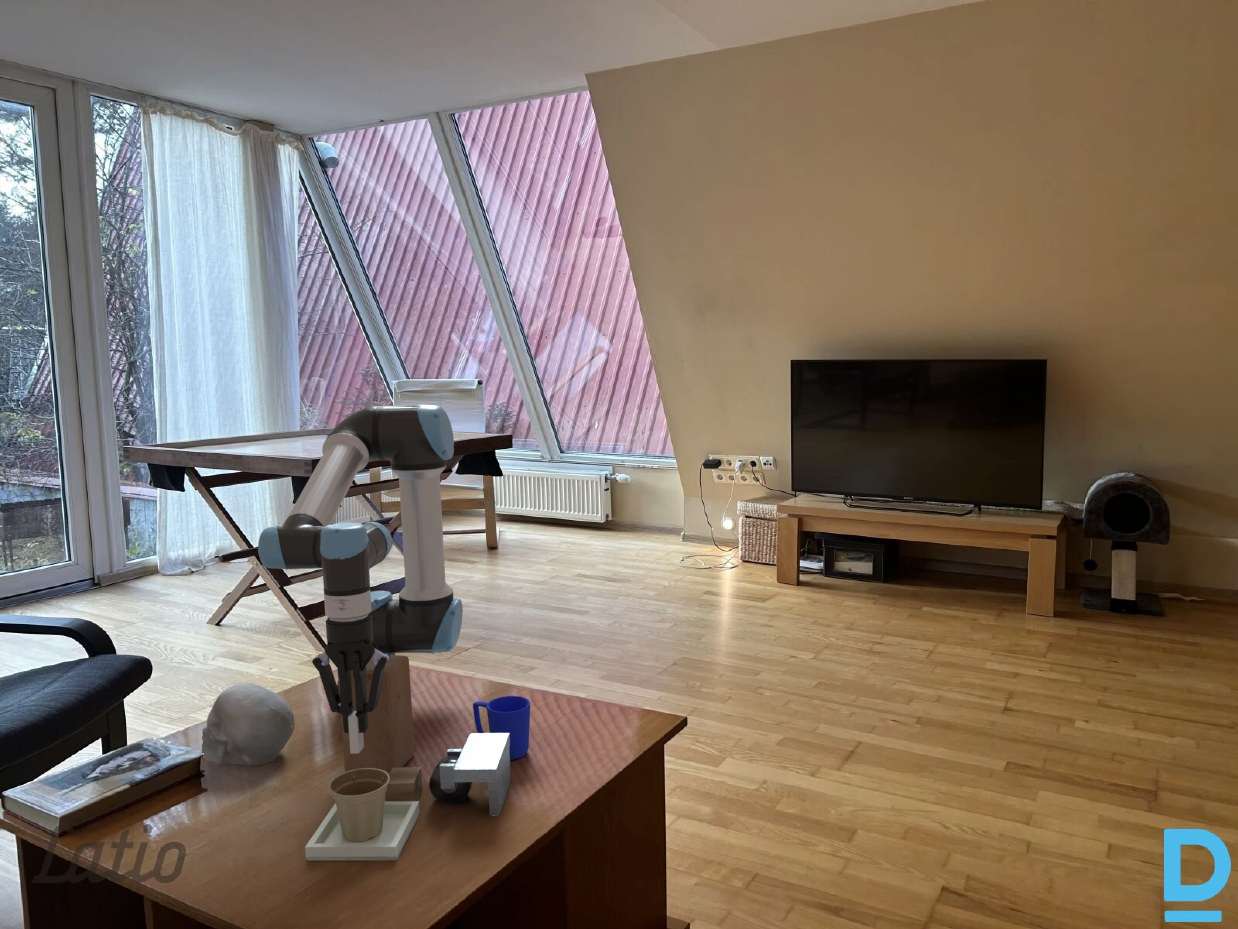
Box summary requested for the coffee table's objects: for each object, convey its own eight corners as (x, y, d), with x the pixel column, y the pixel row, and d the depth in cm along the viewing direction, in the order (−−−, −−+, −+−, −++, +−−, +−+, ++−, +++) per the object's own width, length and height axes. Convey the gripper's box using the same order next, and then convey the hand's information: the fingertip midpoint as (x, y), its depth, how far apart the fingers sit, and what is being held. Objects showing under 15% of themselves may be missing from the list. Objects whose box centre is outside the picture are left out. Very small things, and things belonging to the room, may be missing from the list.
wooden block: (393, 779, 168) (387, 673, 165) (342, 775, 170) (335, 670, 167) (416, 755, 178) (410, 654, 175) (368, 751, 180) (361, 651, 177)
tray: (337, 814, 156) (336, 801, 156) (420, 813, 155) (419, 801, 155) (306, 860, 142) (305, 847, 142) (396, 860, 142) (395, 846, 141)
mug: (488, 738, 184) (486, 690, 183) (540, 749, 179) (538, 699, 177) (463, 755, 177) (460, 705, 176) (516, 767, 171) (514, 715, 170)
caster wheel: (442, 779, 167) (439, 733, 166) (511, 779, 167) (509, 733, 166) (423, 819, 153) (420, 769, 152) (498, 819, 153) (496, 769, 152)
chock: (394, 792, 164) (392, 767, 163) (422, 791, 164) (421, 767, 163) (385, 809, 158) (384, 784, 157) (415, 808, 158) (413, 783, 157)
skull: (227, 737, 188) (228, 667, 185) (306, 755, 183) (308, 684, 181) (181, 766, 176) (181, 691, 173) (264, 787, 171) (265, 710, 168)
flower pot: (396, 841, 146) (392, 789, 145) (333, 853, 143) (329, 800, 142) (389, 813, 155) (386, 763, 154) (330, 824, 152) (327, 774, 150)
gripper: (302, 622, 153) (311, 760, 156) (380, 621, 152) (388, 759, 155) (318, 610, 160) (327, 741, 163) (393, 609, 160) (400, 740, 163)
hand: (357, 750), depth 159 cm, fingers closed
